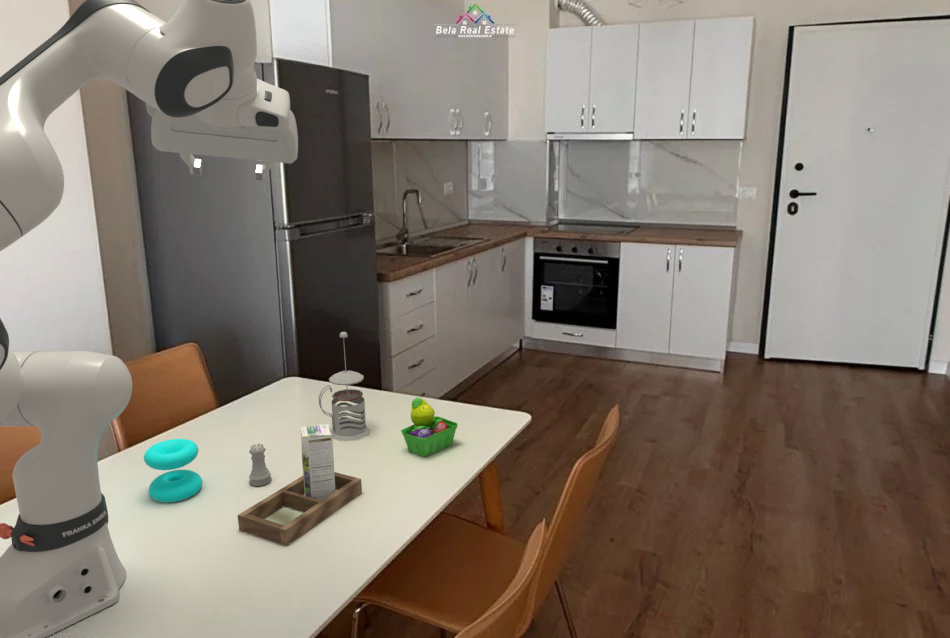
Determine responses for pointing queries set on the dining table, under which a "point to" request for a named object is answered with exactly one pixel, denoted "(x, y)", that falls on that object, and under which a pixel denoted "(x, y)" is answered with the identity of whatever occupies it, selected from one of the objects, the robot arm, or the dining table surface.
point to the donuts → (177, 481)
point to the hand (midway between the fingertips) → (229, 175)
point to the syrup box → (318, 461)
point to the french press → (346, 426)
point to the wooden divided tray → (290, 522)
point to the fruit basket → (427, 430)
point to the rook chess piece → (259, 467)
